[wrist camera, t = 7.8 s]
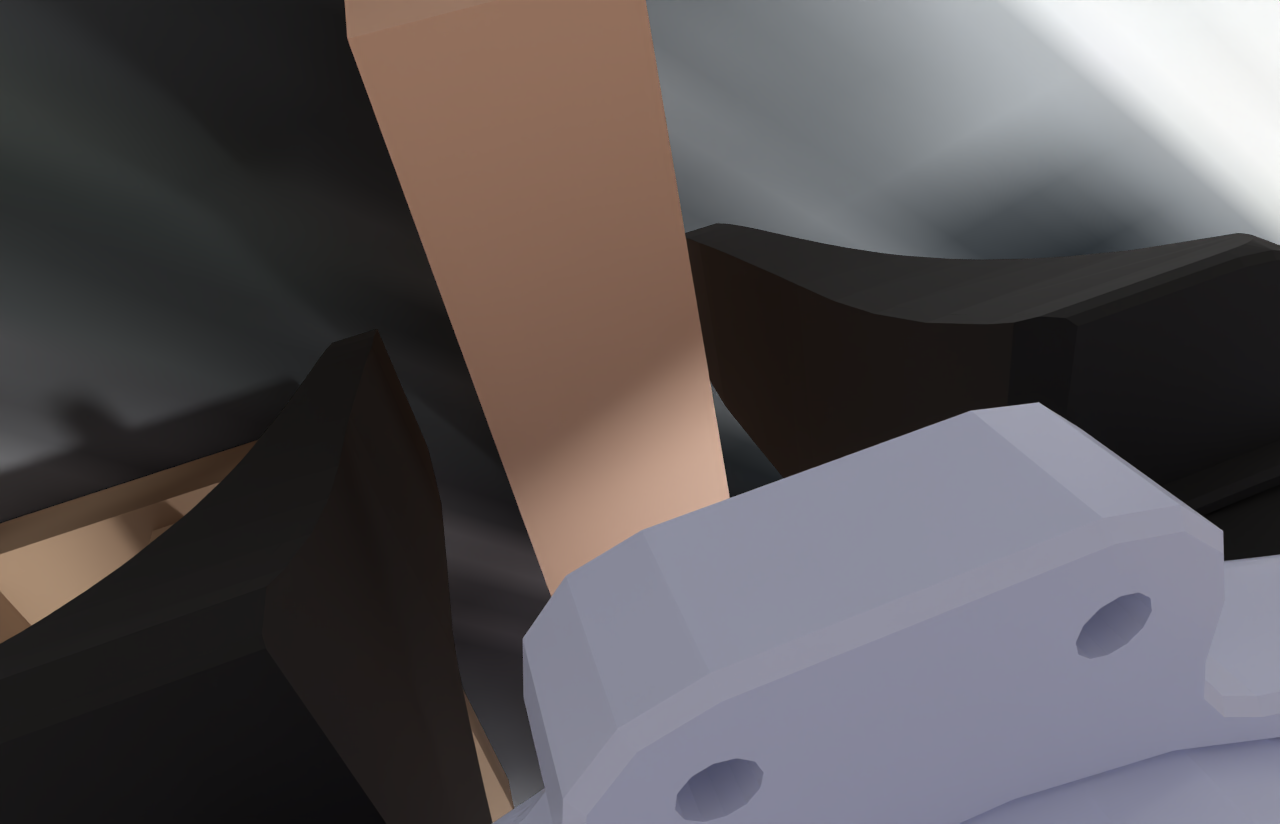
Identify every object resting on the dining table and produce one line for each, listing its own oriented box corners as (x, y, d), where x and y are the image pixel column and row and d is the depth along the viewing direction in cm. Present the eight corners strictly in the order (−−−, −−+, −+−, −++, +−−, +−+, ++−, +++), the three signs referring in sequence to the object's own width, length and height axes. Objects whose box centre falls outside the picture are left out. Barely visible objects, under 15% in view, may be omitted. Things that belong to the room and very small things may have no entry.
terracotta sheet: (477, -74, 12) (640, -38, 6) (616, 456, 18) (777, 780, 11) (341, -41, 12) (348, 39, 5) (527, 487, 18) (639, 837, 11)
